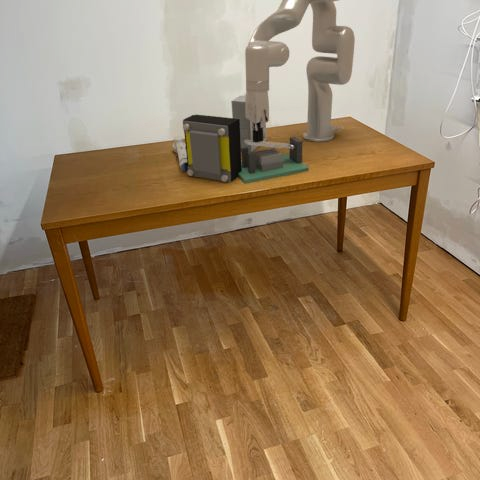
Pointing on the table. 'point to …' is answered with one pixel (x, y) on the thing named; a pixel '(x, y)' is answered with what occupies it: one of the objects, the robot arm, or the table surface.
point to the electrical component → (213, 147)
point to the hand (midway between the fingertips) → (257, 141)
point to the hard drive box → (244, 122)
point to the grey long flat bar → (270, 144)
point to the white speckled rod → (181, 152)
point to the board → (273, 173)
